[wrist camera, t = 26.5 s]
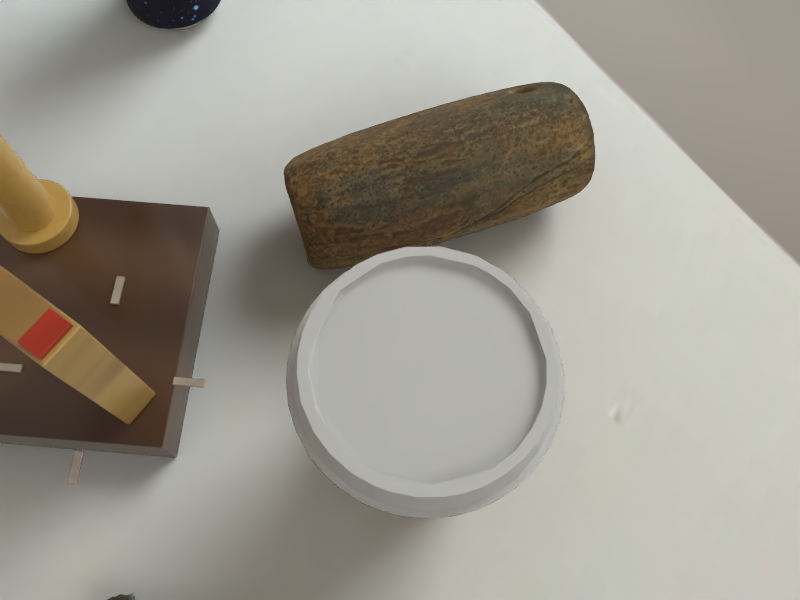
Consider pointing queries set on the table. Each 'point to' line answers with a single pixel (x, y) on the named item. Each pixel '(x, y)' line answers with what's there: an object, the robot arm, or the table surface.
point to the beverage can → (172, 12)
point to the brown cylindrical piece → (440, 173)
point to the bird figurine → (123, 597)
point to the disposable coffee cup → (425, 382)
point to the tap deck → (114, 325)
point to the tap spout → (33, 207)
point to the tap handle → (68, 350)
